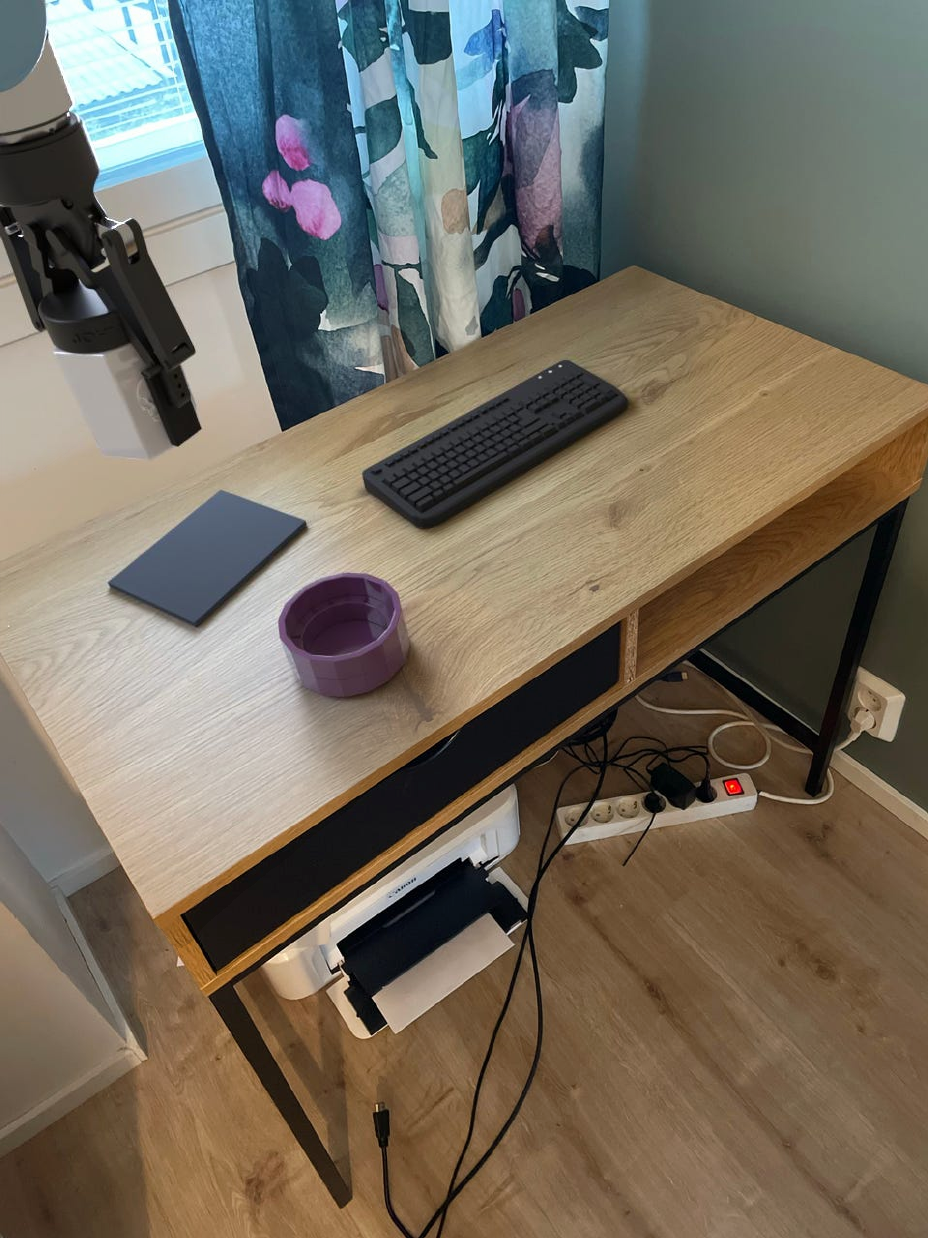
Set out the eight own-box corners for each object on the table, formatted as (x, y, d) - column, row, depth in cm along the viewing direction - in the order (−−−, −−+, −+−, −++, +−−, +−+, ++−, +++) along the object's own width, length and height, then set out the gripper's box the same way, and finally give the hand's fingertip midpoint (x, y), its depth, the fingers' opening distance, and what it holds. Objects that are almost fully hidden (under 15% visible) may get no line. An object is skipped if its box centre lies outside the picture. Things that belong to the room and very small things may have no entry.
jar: (127, 476, 70) (62, 335, 61) (80, 439, 75) (13, 303, 66) (223, 424, 74) (173, 284, 65) (172, 391, 78) (120, 256, 70)
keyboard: (425, 533, 88) (422, 517, 86) (362, 486, 94) (358, 471, 93) (634, 405, 99) (635, 389, 98) (565, 371, 106) (565, 356, 104)
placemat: (196, 627, 82) (194, 623, 81) (109, 586, 87) (106, 582, 87) (307, 525, 91) (306, 520, 90) (222, 493, 96) (220, 489, 95)
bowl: (362, 718, 72) (350, 678, 69) (268, 674, 77) (253, 634, 73) (432, 636, 78) (424, 595, 74) (341, 599, 82) (330, 558, 79)
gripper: (177, 117, 55) (273, 429, 71) (-29, 92, 64) (97, 372, 80) (82, 163, 51) (207, 483, 67) (-123, 129, 60) (30, 416, 76)
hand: (147, 422), depth 74 cm, fingers closed on jar, 9 cm apart
